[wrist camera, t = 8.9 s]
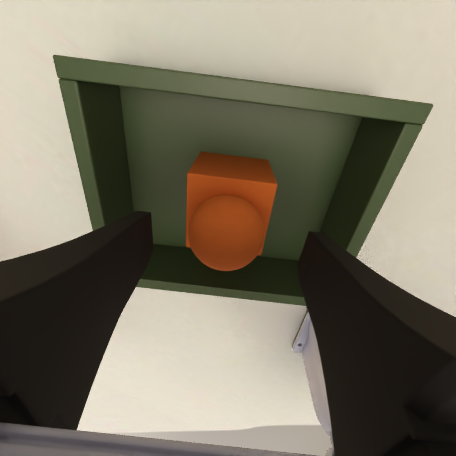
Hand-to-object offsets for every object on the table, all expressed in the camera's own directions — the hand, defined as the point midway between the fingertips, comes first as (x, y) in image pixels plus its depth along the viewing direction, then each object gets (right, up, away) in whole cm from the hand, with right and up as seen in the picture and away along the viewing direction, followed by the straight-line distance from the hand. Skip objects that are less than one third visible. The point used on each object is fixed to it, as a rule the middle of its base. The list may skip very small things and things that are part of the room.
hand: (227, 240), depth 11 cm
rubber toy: (0, +3, +5) cm, 6 cm away
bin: (0, +4, +6) cm, 7 cm away
